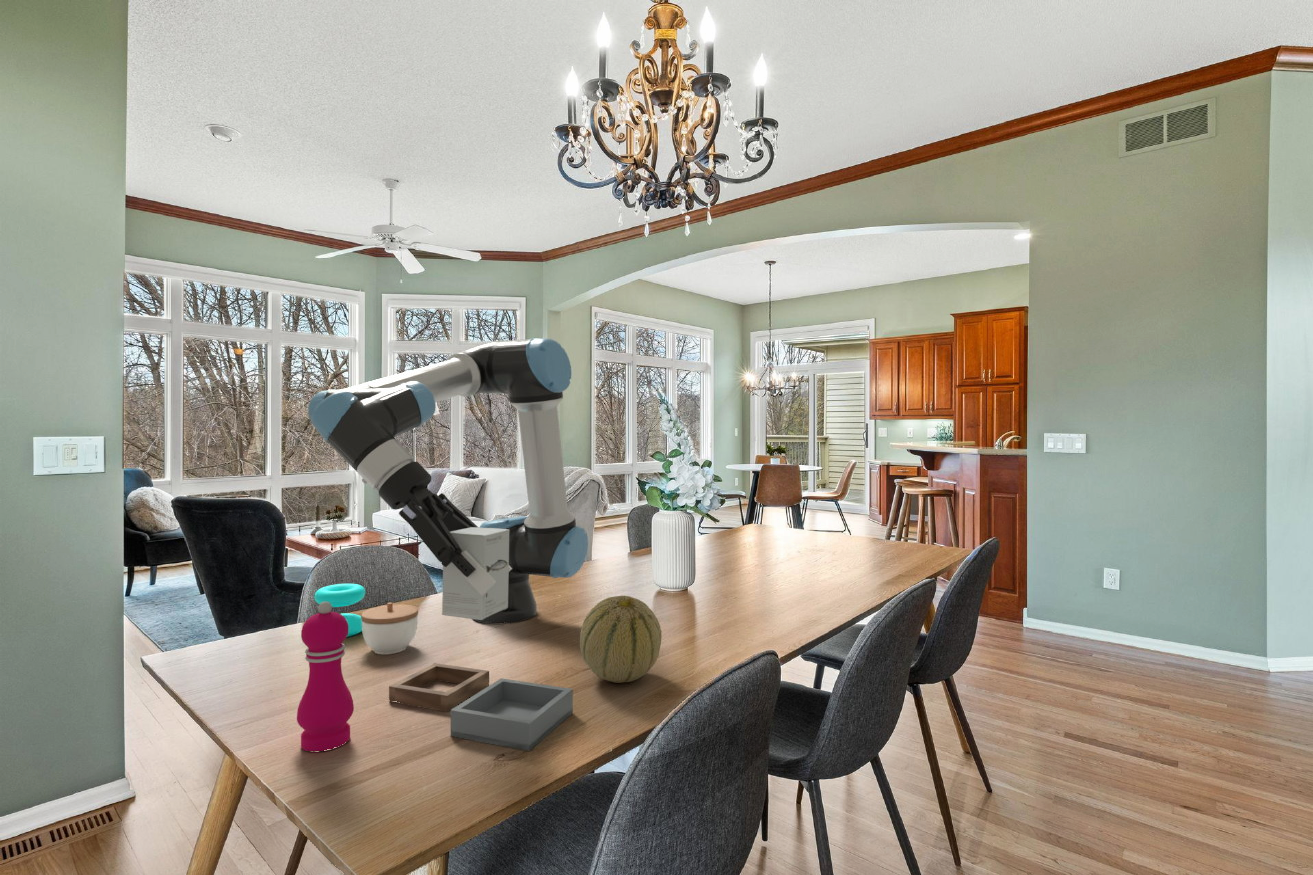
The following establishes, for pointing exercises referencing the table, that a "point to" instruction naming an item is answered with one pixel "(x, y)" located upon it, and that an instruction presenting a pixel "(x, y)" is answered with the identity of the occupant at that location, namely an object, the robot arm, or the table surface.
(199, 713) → the table surface
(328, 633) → the pepper mill
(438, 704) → the walnut collar
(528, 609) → the robot arm
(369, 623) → the lidded jar
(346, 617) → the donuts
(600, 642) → the cantaloupe
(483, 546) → the supplement box
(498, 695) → the slate tray
